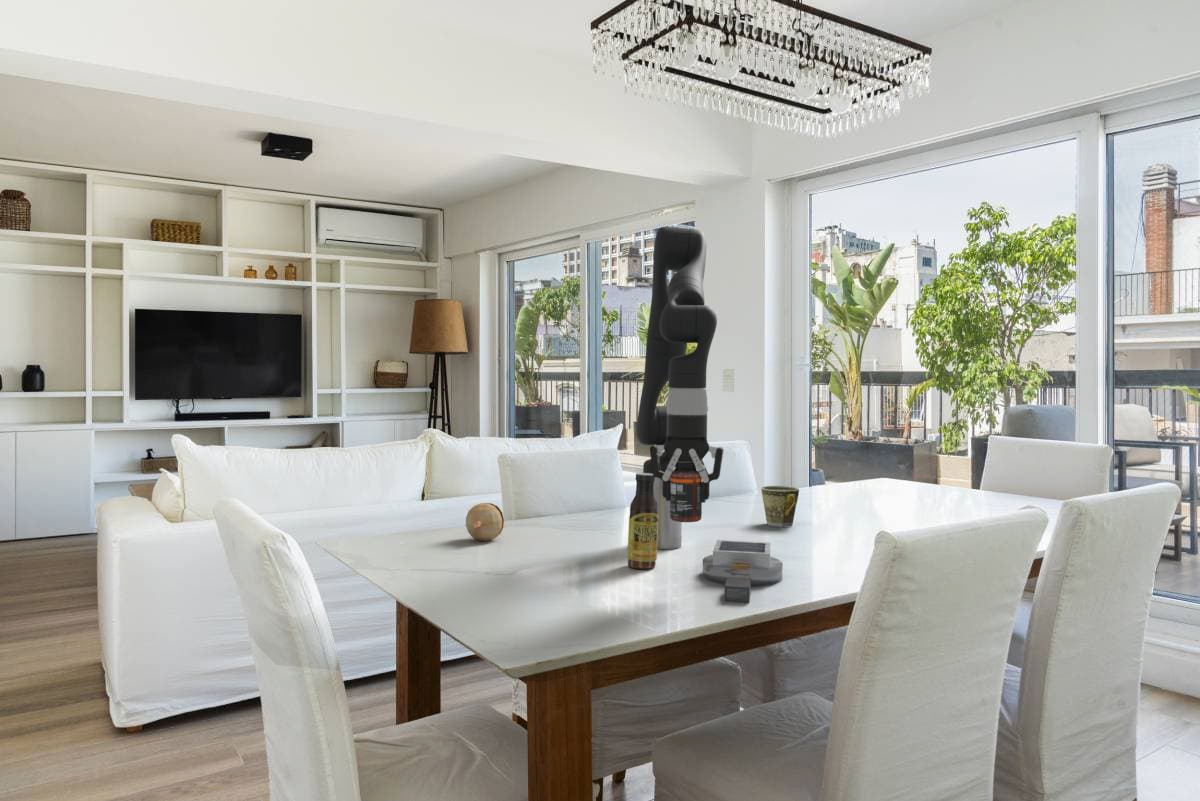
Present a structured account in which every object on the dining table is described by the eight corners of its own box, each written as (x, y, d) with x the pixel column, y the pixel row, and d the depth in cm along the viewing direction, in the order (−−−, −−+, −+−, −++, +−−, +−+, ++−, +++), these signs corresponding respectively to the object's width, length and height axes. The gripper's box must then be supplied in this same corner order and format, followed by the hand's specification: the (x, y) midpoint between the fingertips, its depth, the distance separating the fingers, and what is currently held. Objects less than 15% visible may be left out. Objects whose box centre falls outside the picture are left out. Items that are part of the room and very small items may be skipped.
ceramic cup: (754, 522, 229) (754, 486, 228) (786, 520, 232) (787, 485, 231) (778, 531, 216) (778, 493, 216) (811, 529, 219) (812, 491, 219)
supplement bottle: (699, 517, 160) (699, 458, 159) (703, 523, 154) (704, 462, 153) (668, 517, 160) (668, 458, 159) (671, 523, 154) (672, 462, 153)
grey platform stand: (692, 599, 152) (692, 566, 152) (706, 564, 179) (706, 537, 178) (782, 604, 148) (782, 571, 148) (782, 569, 175) (782, 540, 175)
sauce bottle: (632, 571, 173) (633, 476, 172) (623, 564, 179) (624, 472, 178) (662, 569, 174) (662, 475, 174) (652, 562, 180) (653, 471, 180)
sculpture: (510, 503, 209) (489, 497, 195) (513, 540, 207) (492, 536, 193) (476, 507, 211) (452, 501, 197) (478, 544, 209) (454, 541, 195)
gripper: (645, 412, 154) (644, 502, 154) (724, 414, 151) (722, 506, 151) (652, 410, 161) (651, 496, 162) (727, 411, 158) (725, 499, 159)
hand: (685, 500), depth 157 cm, fingers closed on supplement bottle, 6 cm apart
